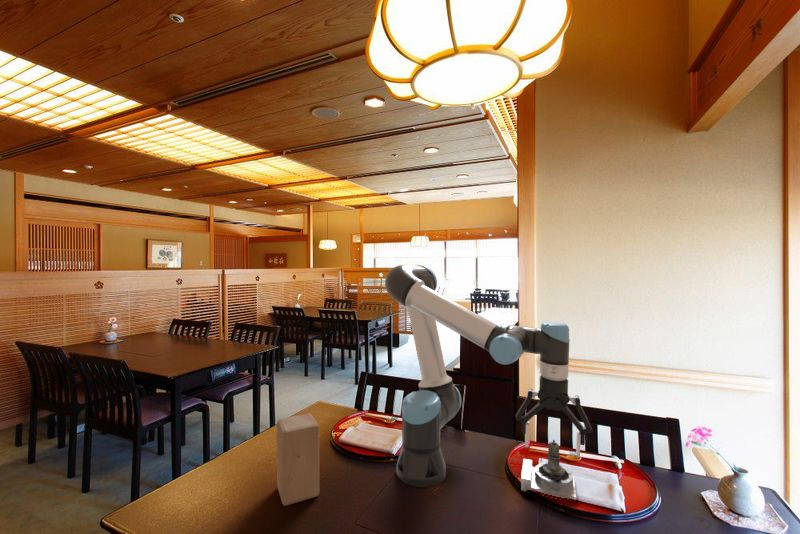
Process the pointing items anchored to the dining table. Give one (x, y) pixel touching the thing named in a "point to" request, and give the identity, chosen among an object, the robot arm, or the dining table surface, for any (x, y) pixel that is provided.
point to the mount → (546, 481)
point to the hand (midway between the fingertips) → (551, 449)
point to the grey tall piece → (553, 463)
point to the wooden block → (297, 458)
